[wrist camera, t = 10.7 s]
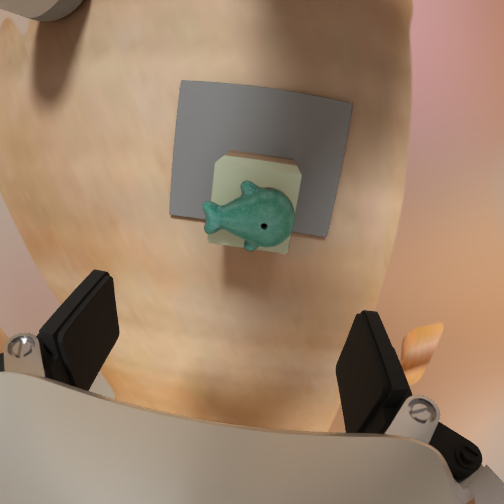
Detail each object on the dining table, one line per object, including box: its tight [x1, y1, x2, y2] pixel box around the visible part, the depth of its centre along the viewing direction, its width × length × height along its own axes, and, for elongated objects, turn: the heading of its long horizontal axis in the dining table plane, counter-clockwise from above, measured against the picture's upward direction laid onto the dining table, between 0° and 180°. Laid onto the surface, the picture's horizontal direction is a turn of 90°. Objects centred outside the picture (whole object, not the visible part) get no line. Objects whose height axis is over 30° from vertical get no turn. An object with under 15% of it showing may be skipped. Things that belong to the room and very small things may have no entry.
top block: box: [207, 155, 302, 254], centre depth 28 cm, size 7×7×5 cm
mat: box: [169, 80, 353, 237], centre depth 34 cm, size 16×19×1 cm
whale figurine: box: [202, 180, 295, 251], centre depth 25 cm, size 6×7×4 cm
